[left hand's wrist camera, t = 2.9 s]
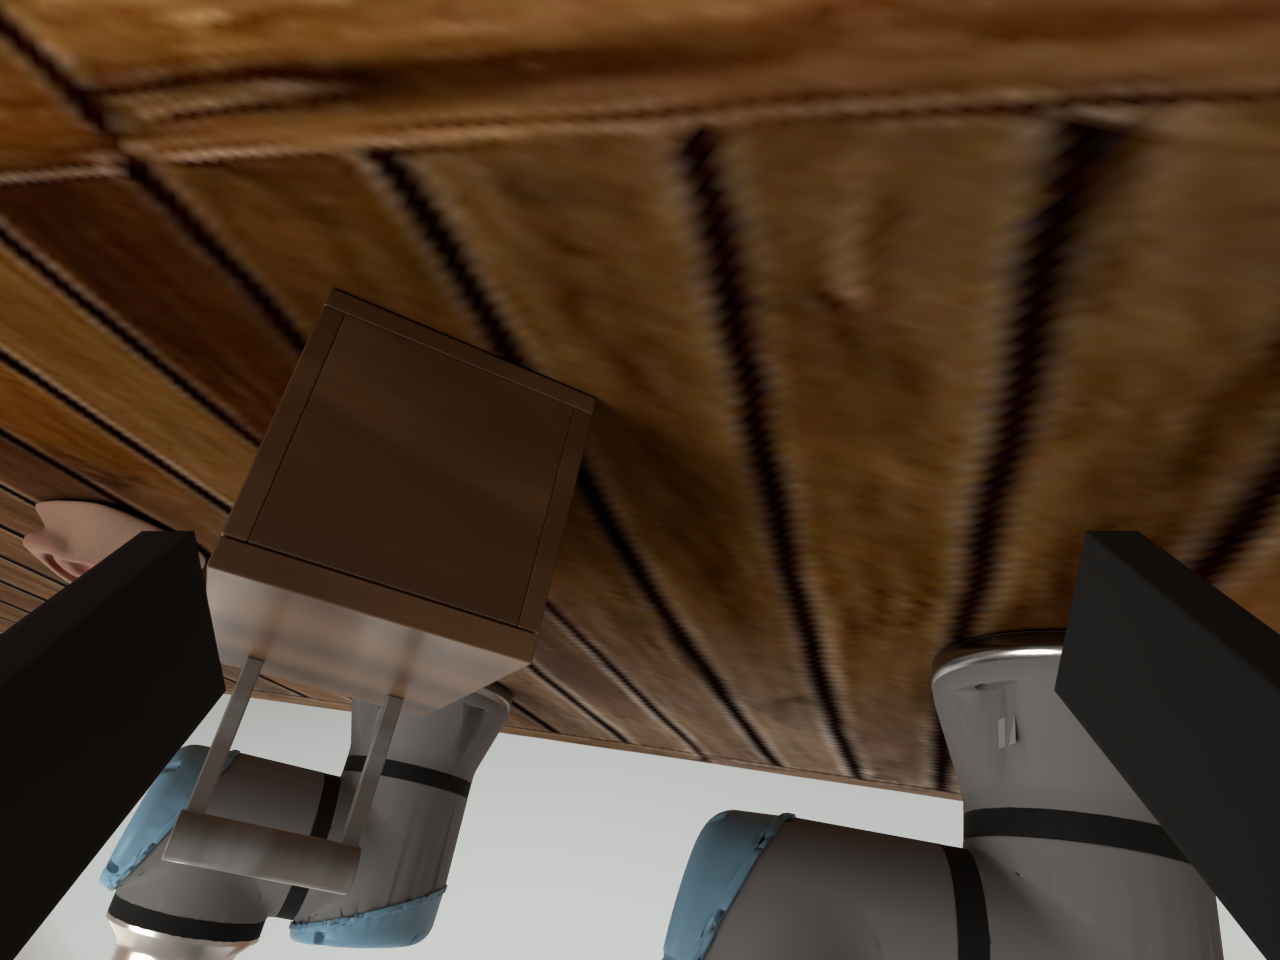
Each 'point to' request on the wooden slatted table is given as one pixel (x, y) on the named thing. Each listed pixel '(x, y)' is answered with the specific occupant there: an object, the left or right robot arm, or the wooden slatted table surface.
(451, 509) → the chest
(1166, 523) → the wooden slatted table surface
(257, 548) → the lid
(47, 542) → the anatomical model
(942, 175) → the wooden slatted table surface
